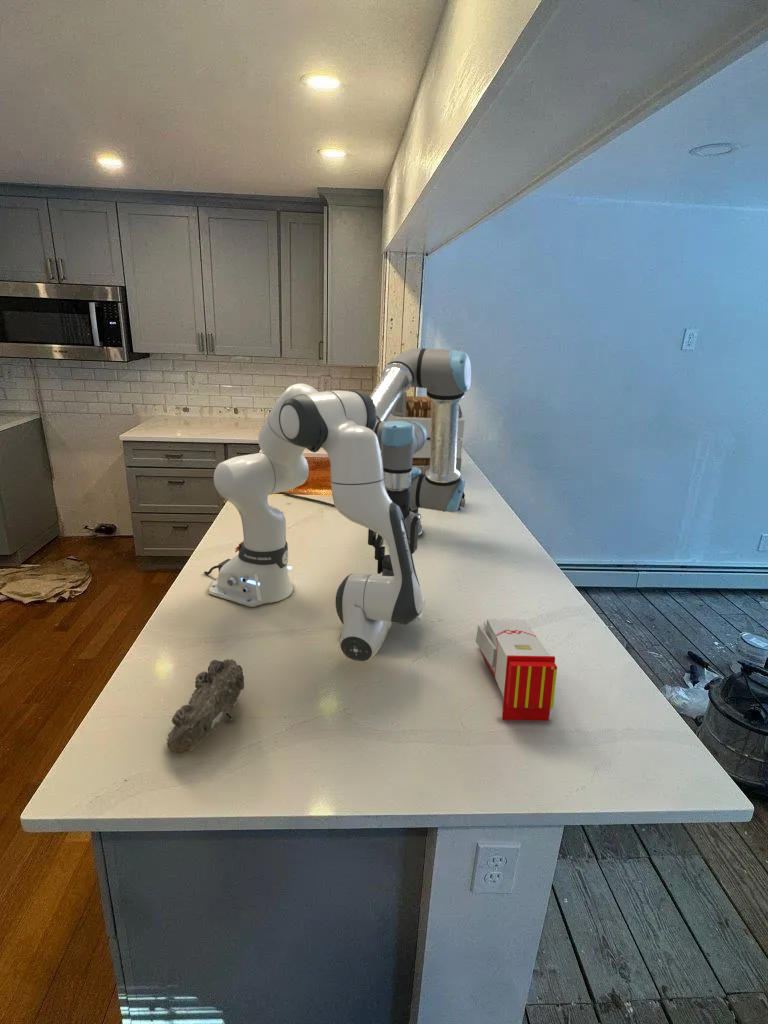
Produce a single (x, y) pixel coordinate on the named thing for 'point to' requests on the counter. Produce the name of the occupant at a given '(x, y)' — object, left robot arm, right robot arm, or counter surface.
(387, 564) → the lid
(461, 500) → the figurine character
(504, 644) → the toy
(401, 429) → the right robot arm
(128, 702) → the counter surface
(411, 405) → the grey slatted wooden crate
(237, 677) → the fossil
